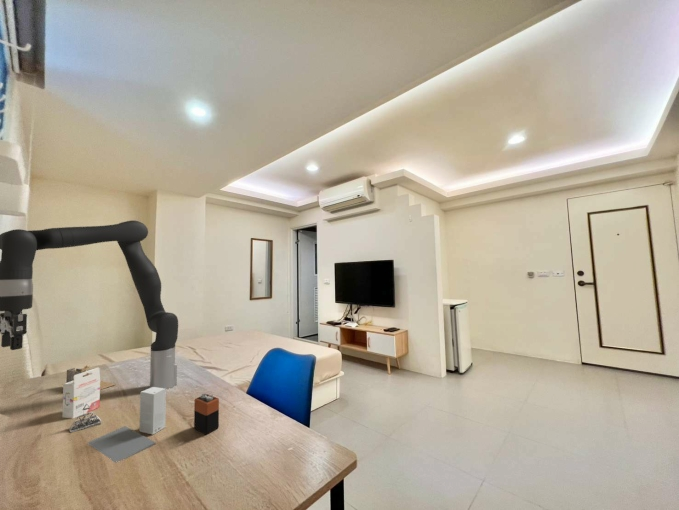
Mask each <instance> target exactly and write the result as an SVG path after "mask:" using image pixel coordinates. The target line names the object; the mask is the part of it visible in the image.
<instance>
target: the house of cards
mask: <svg viewBox="0 0 679 510" xmlns="http://www.w3.org/2000/svg"><path fill="white" fill-rule="evenodd" d="M86 405H88V404H87V403H86ZM86 405H85V406H84V408H85V407H86ZM88 407H89V405H88ZM84 408H83V409H82V410H83V415H80V416H78V417H76V418H75V421H73V422H72V424H71V425H70V426H69V428H68V430H69V432H70V433H75V432H79V431H82V430H85V429H89V428H92V427H96V426H99V425H101V424H102V419H101V418H100V417H99V416H98V414H96V413H95V412H94V411H90V412H88V413H85V414H84V410H87V409H90V407H89V408H85V409H84ZM89 415H90V416H89ZM81 417H82V418H81Z"/></svg>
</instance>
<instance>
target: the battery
mask: <svg viewBox="0 0 679 510" xmlns="http://www.w3.org/2000/svg"><path fill="white" fill-rule="evenodd" d="M193 405H194V410H193V411H194V412H193V413H194V414H193V415H194V416H193V417H194V419H193V420H194V421H193V426H194V427H193V428H194V429H195V430H197V431H198V432H200V433H202V434H204V435H209V434H210V433H212V432H214V431H215V430H218V429H219V427H220V426H219V425H220V424H219V423H220V420H219V419H220V410H219V409H220V406H219V405H220V399H219V398H218V397H217V396H214V395H213V394H212V395H210V394H208V393H202V394H200V396H199V397H196V398H194V404H193Z"/></svg>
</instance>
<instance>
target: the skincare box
mask: <svg viewBox="0 0 679 510" xmlns="http://www.w3.org/2000/svg"><path fill="white" fill-rule="evenodd" d="M166 392H167V390H166V389H165V388H158V387H151V388H150V387H149V388H146V389H145V390H142V391H140V392H139V393H140V394H139V395H140V396H139V397H140V399H139V401H140V402H139V426H138V427H139V430H138V431H139V432H140V433H143V434H148V435H155V434H157V433H158V432H160V431H162V430H163V429H165V428H166V415H167V414H166V413H167V412H166V409H167V408H166V407H167V406H166V404H167V403H166V401H167V393H166Z"/></svg>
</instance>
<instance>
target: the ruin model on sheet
mask: <svg viewBox="0 0 679 510" xmlns="http://www.w3.org/2000/svg"><path fill="white" fill-rule="evenodd" d="M89 367H90V365H87V364H86V365H85V366H84V367H83V369H81V368H76V367H73V368H70V369H66V383H68V382H71V381H74V375H76V374H80V373H82V372H85V371H87V370H88V369H89ZM88 375H90V373H89V374H88V373H87V374H86V375H83V377H85V376H88ZM63 384H64V383H62V384H60V385H63ZM115 385H116V383H111V382H106V381H102V380H100V391H101V390H103V389H107V388H110V387H112V386H115Z"/></svg>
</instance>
